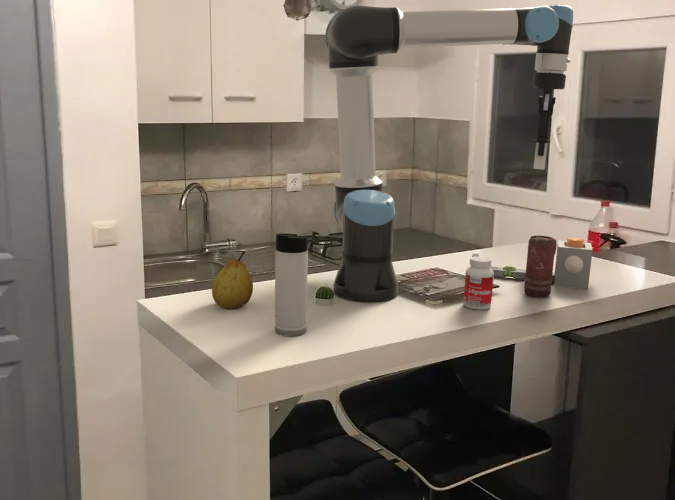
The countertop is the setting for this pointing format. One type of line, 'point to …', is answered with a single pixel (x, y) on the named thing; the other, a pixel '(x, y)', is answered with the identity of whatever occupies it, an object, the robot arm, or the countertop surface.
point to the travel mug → (291, 284)
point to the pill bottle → (478, 284)
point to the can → (539, 266)
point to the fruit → (232, 285)
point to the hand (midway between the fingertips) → (539, 168)
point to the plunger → (575, 242)
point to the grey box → (573, 265)
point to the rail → (518, 274)
